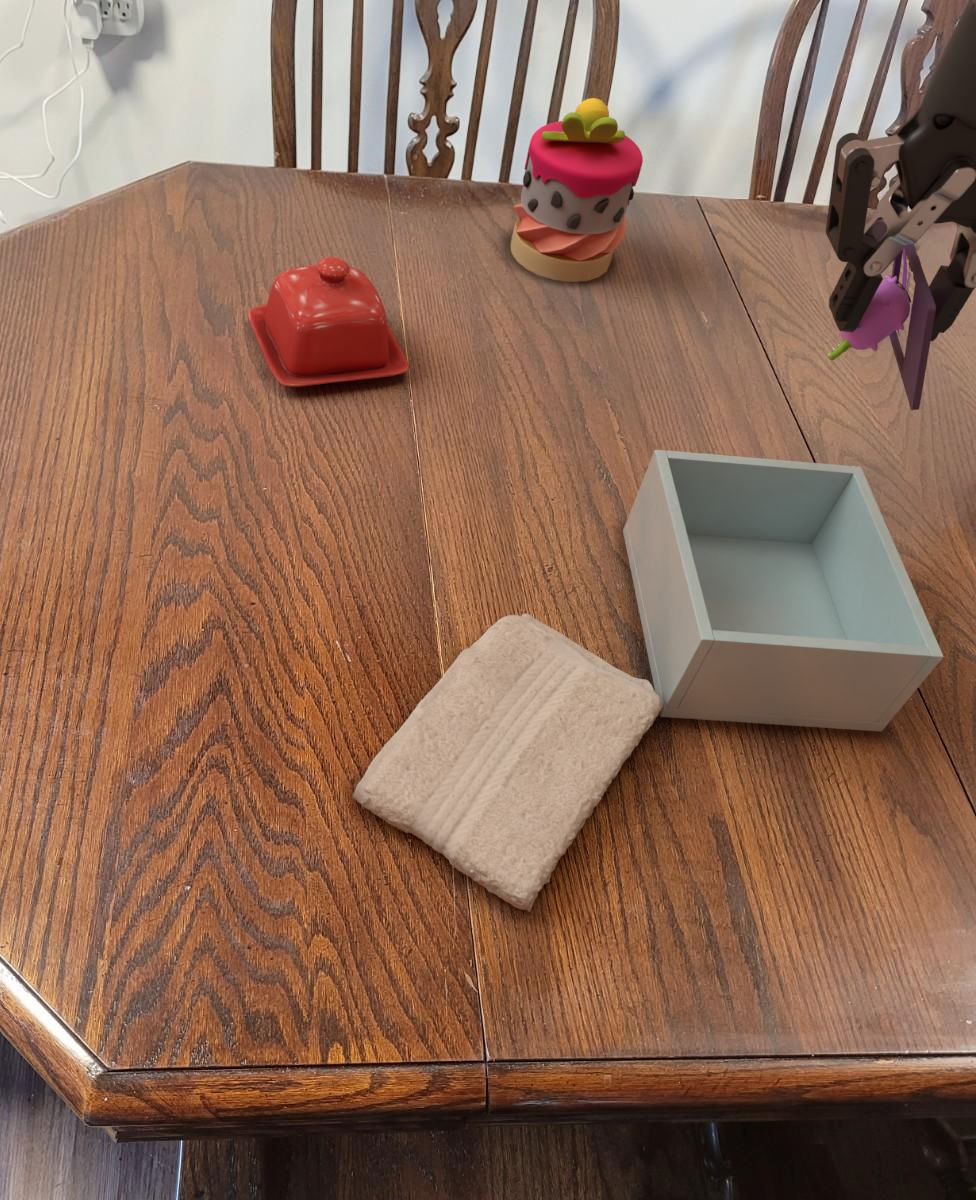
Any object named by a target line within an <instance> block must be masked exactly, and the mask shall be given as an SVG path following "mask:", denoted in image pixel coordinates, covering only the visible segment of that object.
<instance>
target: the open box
mask: <svg viewBox="0 0 976 1200" xmlns="http://www.w3.org/2000/svg"><path fill="white" fill-rule="evenodd" d="M622 534H623V538H624V543H625V548H626V552H627V559H628V563H629V568H630V574H631V578H632V583H633V588H634V593H635V598H636V602H637V607H638V613H639V618H640V623H641V629H642V632H643V638H644V642H645V647H646V648H645V649H646V652H647V658H648V663H649V667H650V672H651V673H650V674H651V677H652V682H653V689H654V691H655V693H656V694H657V695H659V696H660V698H661V699H662V701H663V704H662V706H663V707H662V708H661V710H660V712H659V716H660V717H661V718H672V719H673V718H674V719H687V720H688V719H689V720H701V721H702V720H704V721H718V722H719V721H720V722H731V723H732V722H735V723H748V724H763V725H776V726H777V725H778V726H792V727H809V728H823V729H824V728H825V729H826V728H827V729H838V730H839V729H840V730H852V731H853V730H854V731H868V732H883V730H884V729H885V728H886V727H887V726H888V724H889V723H890V722H891V721H892V720H893V718H894V717H895V716H896V715H897V714H898V713H899V712H900V711H901V709H902V707H904V705H905V704H906V703H907V702H908V700H909V699H910V698H911V697H912V696H913V694H914V693H915V692H916V691H917V690H918V688H919V687H920V686H921V685H922V684H923V682H924V681H925V680H926V679H927V678H928V677H929V675H931V673H932V672H933V670H934V669H935V668H936V667H937V665H938V664H940V662H941V661H942V659H943V658H944V654H943V652H942V650H941V647H940V645H939V643H938V641H937V638H936V636H935V633H934V631H933V628H932V626H931V624H930V622H929V620H928V617H927V615H926V613H925V611H924V608H923V606H922V603H921V601H920V599H919V597H918V594H917V592H916V589H915V587H914V585H913V583H912V580H911V578H910V576H909V574H908V570H907V569H906V566H905V564H904V562H903V560H902V558H901V555H900V553H899V551H898V549H897V546H896V544H895V541H894V539H893V537H892V534H891V533H890V530H889V528H888V525H887V523H886V520H885V518H884V516H883V514H882V512H881V509H880V507H879V505H878V503H877V500H876V498H875V495H874V493H873V491H872V489H871V486H870V484H869V481H868V479H867V477H866V475H865V473H864V470H863V468H862V466H856V465H855V466H854V465H845V464H832V463H821V462H811V461H799V460H798V461H797V460H786V459H785V460H784V459H774V458H762V457H760V458H759V457H753V456H752V457H750V456H741V455H740V456H739V455H728V454H714V453H703V452H691V451H680V450H679V451H678V450H664V449H654V451H653V454H652V456H651V458H650V460H649V463H648V466H647V469H646V472H645V474H644V476H643V479H642V481H641V484H640V487H639V489H638V491H637V494H636V497H635V500H634V501H633V505H632V507H631V509H630V511H629V515H628V517H627V519H626V522H625V524H624V527H623V529H622Z"/></svg>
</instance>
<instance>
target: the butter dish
mask: <svg viewBox="0 0 976 1200" xmlns="http://www.w3.org/2000/svg"><path fill="white" fill-rule="evenodd" d="M272 282H273V283H272V285H271V287H270V288H271V289H270V291H269V296H268V298H267V299H268V300H267V303H265V304H261V305H257V306H253V307H252V308H250V309H249V310H248V312H247V317H248V321H249V324H250V326H251V328H252V330H253V332H254V336H255V337H256V340H257V342H258V345H259V347H260V350H261V352H262V354H263V356H264V358H265V361H266V363H267V366H268V368H269V370H270V372H271V374H272V375H273V377H274V379H275V380H276V381H277V383H278V384H280V385H281V386H283V387H289V388H290V387H291V388H293V387H294V388H297V387H298V388H299V387H310V386H315V385H317V386H318V385H323V384H324V385H325V384H332V383H342V382H343V383H344V382H350V381H359V380H360V381H361V380H362V381H363V380H369V379H370V380H371V379H379V378H389V377H394V376H399V375H402V374H405V373H407V372H409V370H410V364H409V361H408V359H407V357H406V355H405V353H404V351H403V349H402V347H401V345H400V344H399V342H398V340H397V338H396V337H395V335H394V333H393V331H392V330H391V328H390V326H389V325H388V321H387V320H388V319H387V313H386V310H385V306H384V304H383V300H382V298H381V296H380V294H379V293H378V291H377V289H376V287H375V285H374V284H373V282H372V281H371V279H369V277H368V276H367V275H366V274H365V273H364V272H363V271H361V270H360V269H359V268H357V267H354V266H349V264H348V262H346V261H345V259H342V258H341V257H337V256H327V257H324V258H322V259H320V260H319V261H318V262H317V264H313V265H312V264H311V265H304V266H299V267H296V268H295V267H294V268H290V269H288V270H285V271H282V272H281V273H280V274H278V275H277V276H276V277H275V279H274V280H273V281H272Z"/></svg>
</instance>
